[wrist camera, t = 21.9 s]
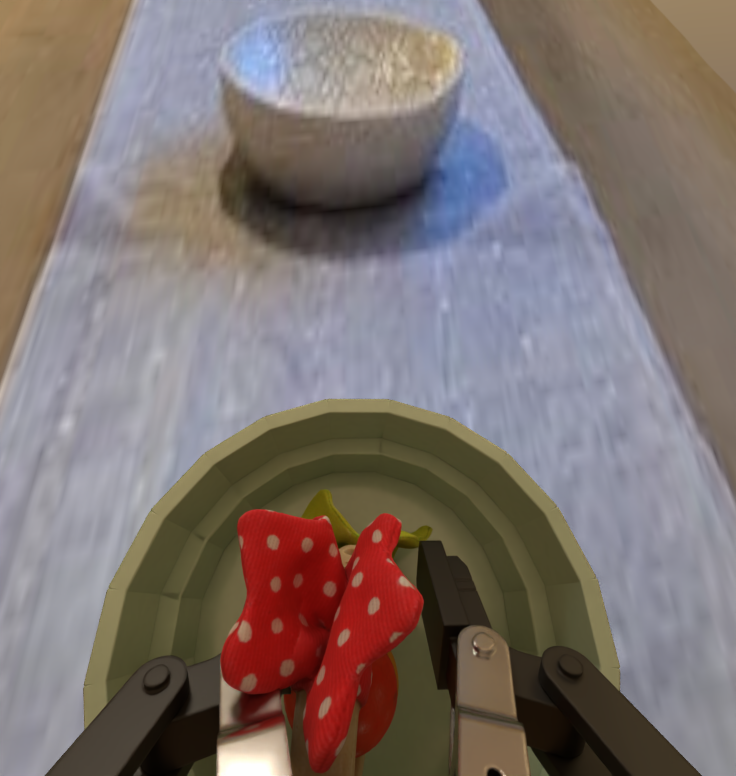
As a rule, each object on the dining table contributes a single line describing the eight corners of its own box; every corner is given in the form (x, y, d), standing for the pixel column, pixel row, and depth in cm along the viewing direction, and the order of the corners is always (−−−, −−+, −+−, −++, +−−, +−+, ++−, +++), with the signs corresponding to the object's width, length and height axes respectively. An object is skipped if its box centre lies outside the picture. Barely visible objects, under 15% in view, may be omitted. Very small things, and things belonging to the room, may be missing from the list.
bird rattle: (424, 686, 18) (427, 472, 19) (541, 1115, 7) (539, 545, 8) (277, 685, 18) (287, 469, 18) (151, 1126, 7) (189, 539, 7)
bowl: (576, 868, 14) (710, 1016, 9) (124, 896, 14) (-14, 1077, 8) (500, 451, 22) (552, 399, 16) (201, 451, 21) (153, 397, 15)
